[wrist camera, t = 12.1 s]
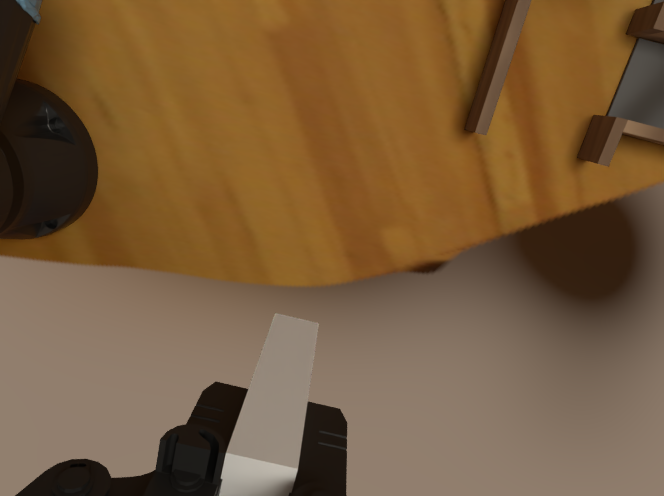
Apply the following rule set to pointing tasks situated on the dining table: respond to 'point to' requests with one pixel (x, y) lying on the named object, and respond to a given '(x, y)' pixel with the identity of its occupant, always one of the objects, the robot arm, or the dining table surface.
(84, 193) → the robot arm
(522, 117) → the dining table surface
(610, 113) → the trap lane
